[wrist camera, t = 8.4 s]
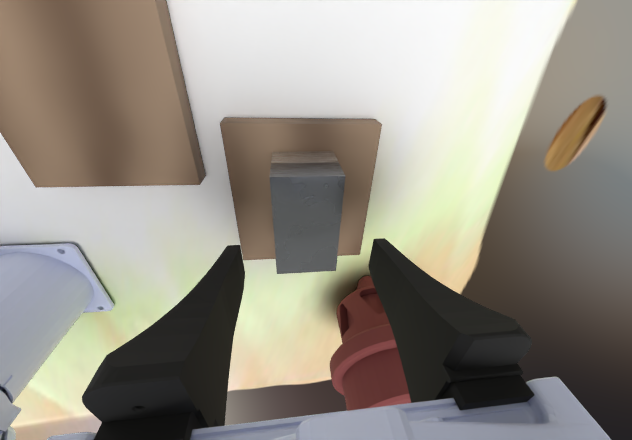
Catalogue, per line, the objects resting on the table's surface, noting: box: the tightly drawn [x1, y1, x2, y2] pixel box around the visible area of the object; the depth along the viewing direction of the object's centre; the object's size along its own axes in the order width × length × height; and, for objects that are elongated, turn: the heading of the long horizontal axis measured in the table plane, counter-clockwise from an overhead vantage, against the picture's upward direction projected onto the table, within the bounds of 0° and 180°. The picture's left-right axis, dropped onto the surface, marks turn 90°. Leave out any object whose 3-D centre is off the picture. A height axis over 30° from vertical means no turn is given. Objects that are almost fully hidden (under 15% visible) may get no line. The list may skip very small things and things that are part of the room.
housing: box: [270, 151, 345, 274], centre depth 17 cm, size 4×7×4 cm, turn 178°
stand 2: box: [220, 118, 382, 260], centre depth 19 cm, size 10×11×2 cm
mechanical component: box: [330, 276, 411, 411], centre depth 23 cm, size 12×10×10 cm
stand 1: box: [0, 0, 206, 187], centre depth 14 cm, size 10×11×2 cm
